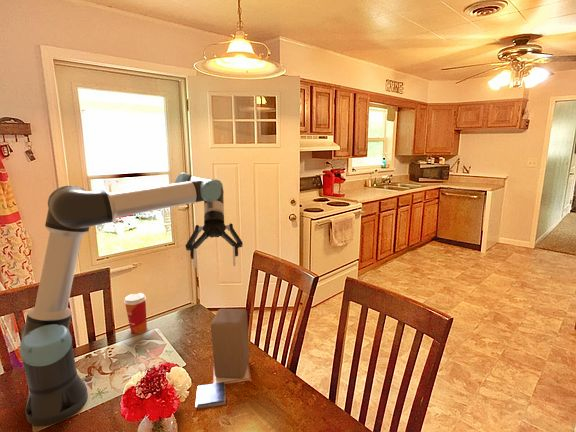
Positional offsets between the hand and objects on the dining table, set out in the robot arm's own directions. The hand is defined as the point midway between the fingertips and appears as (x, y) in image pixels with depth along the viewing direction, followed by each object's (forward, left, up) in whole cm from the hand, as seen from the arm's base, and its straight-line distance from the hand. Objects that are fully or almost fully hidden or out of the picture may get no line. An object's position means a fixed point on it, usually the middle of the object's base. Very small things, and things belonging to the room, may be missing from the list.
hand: (214, 265), depth 118 cm
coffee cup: (-33, +20, -33) cm, 51 cm away
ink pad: (-3, -24, -33) cm, 41 cm away
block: (+4, -13, -33) cm, 35 cm away
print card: (+4, -13, -33) cm, 36 cm away
